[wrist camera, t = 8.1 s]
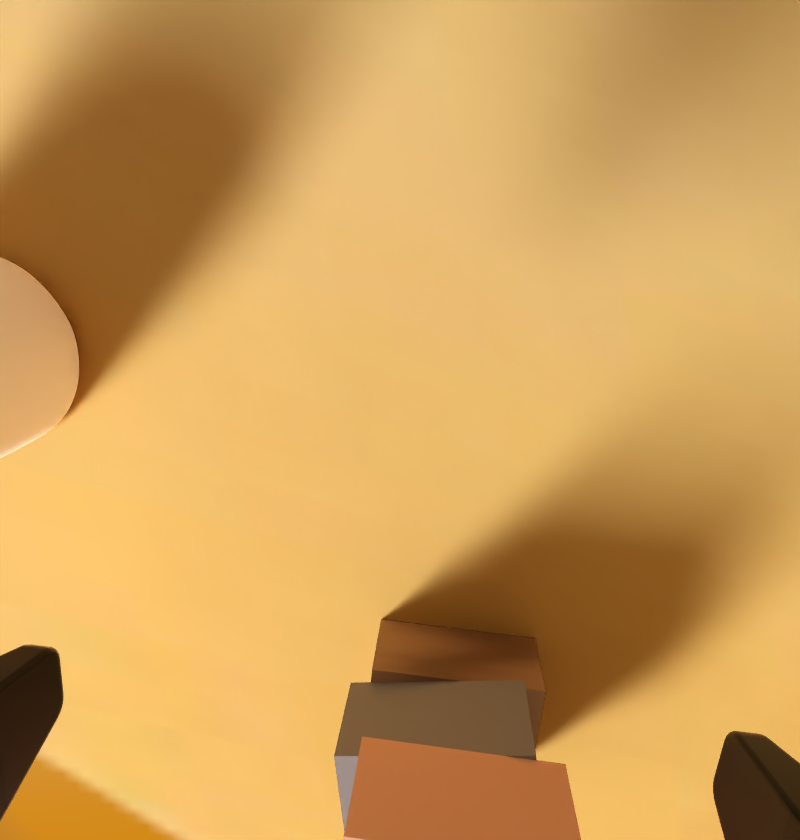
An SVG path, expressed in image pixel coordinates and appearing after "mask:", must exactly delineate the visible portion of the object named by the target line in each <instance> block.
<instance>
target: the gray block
mask: <svg viewBox="0 0 800 840" xmlns="http://www.w3.org/2000/svg"><path fill="white" fill-rule="evenodd" d="M362 736H363V737H370V738H377V739H385V740H392V741H399V742H406V743H414V744H421V745H428V746H436V747H443V748H450V749H458V750H465V751H472V752H480V753H487V754H494V755H502V756H509V757H516V758H523V759H531V760H536V752H535V745H534V739H533V732H532V726H531V719H530V713H529V706H528V700H527V693H526V687H525V681H524V680H503V681H441V682H387V683H371V682H369V683H351V685H350V689H349V694H348V698H347V702H346V707H345V711H344V716H343V720H342V724H341V729H340V733H339V737H338V742H337V746H336V750H335V755H334V758H335V766H336V773H337V780H338V788H339V795H340V802H341V809H342V817H343V824H344V831H345V828H346V822H347V817H348V811H349V806H350V800H351V794H352V789H353V783H354V778H355V772H356V767H357V761H358V756H359V750H360V745H361V739H362Z"/></svg>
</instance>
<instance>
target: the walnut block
mask: <svg viewBox="0 0 800 840" xmlns="http://www.w3.org/2000/svg"><path fill="white" fill-rule="evenodd" d="M503 680H524V681H525V687H526V693H527V700H528V706H529V713H530V719H531V726H532V732H533V739H534V745H535V748H536V742H537V737H538V732H539V726H540V721H541V716H542V710H543V705H544V700H545V694H546V689H545V684H544V679H543V674H542V670H541V665H540V660H539V655H538V650H537V645H536V640H535V638H528V637H520V636H512V635H504V634H496V633H488V632H480V631H472V630H464V629H456V628H448V627H440V626H432V625H424V624H415V623H407V622H399V621H391V620H383V619H381V623H380V629H379V634H378V640H377V646H376V651H375V657H374V662H373V668H372V677H371V683H387V682H441V681H503Z"/></svg>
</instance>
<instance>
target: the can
mask: <svg viewBox="0 0 800 840" xmlns="http://www.w3.org/2000/svg"><path fill="white" fill-rule="evenodd" d="M78 379H79V356H78V348H77V343H76V339H75V335H74V332H73V330H72V327H71V325H70V323H69V321H68V319H67V317H66V315H65V314H64V312H63V310H62V309H61V307H60V306H59V305H58V303H57V302H56V301H55V299H54V298H53V297H52V296H51V294H50V293H49V292H48V291H47V290H46V289H45V288H44V287H43V286H42V285H41V284H40V283H39V282H38V281H37V280H36V279H35V278H34V277H33V276H32V275H30V274H29V273H28V272H27V271H25V270H24V269H22V268H21V267H19V266H17V265H16V264H14V263H12V262H10V261H8V260H6V259H3V258H1V257H0V458H2V457H3V456H5V455H7V454H9V453H11V452H13V451H15V450H17V449H19V448H21V447H23V446H25V445H27V444H29V443H30V442H32V441H34V440H36V439H38V438H40V437H41V436H43V435H44V434H46V433H47V432H49V431H50V430H51V429H53V428H54V427H55V426H56V425H57V424H58V423H59V422H60V421H61V420H62V418H63V417H64V416H65V414H66V413H67V411H68V410H69V408H70V406H71V404H72V402H73V399H74V397H75V394H76V390H77V386H78Z"/></svg>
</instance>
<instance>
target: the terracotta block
mask: <svg viewBox="0 0 800 840" xmlns="http://www.w3.org/2000/svg"><path fill="white" fill-rule="evenodd" d="M344 840H581V837H580V832H579V828H578V823H577V818H576V813H575V809H574V804H573V799H572V794H571V789H570V785H569V780H568V775H567V770H566V765H565V764H560V763H553V762H546V761H538V760H531V759H523V758H516V757H509V756H502V755H494V754H487V753H480V752H472V751H465V750H458V749H450V748H443V747H436V746H428V745H421V744H414V743H406V742H399V741H392V740H385V739H377V738H370V737H363V736H362V739H361V745H360V750H359V756H358V761H357V767H356V772H355V778H354V783H353V789H352V794H351V800H350V806H349V811H348V817H347V822H346V828H345V833H344Z"/></svg>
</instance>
